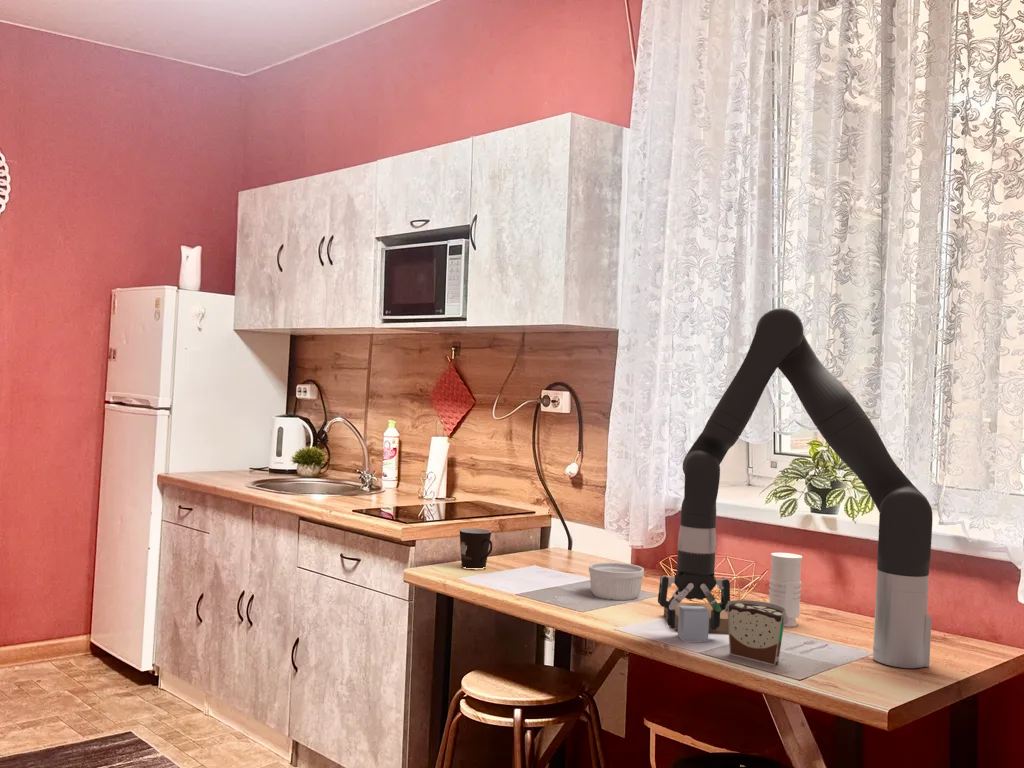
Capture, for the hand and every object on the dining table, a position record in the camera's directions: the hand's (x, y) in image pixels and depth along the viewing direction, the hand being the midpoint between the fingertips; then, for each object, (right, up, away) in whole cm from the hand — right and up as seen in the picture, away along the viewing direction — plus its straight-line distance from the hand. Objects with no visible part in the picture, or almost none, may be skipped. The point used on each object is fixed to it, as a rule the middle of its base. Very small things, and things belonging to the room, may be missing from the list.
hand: (692, 628), depth 192 cm
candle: (+23, -3, +17) cm, 29 cm away
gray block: (0, -2, 0) cm, 2 cm away
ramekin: (-12, -2, +37) cm, 39 cm away
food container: (+11, -3, -12) cm, 16 cm away
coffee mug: (-47, 0, +62) cm, 78 cm away
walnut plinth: (+5, -2, +12) cm, 13 cm away
